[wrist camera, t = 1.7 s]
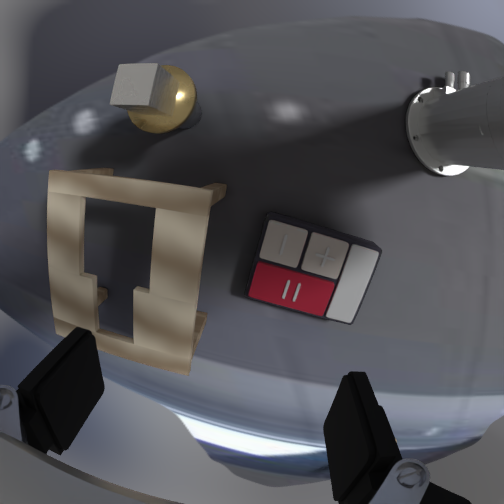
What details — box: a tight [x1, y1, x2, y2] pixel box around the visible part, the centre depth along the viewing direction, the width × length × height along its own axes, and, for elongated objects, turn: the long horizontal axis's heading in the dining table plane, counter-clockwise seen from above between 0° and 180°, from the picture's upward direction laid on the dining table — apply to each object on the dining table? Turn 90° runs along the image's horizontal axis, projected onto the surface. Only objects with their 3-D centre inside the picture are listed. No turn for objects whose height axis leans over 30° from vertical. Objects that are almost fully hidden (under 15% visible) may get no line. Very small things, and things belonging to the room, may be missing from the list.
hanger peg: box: [110, 63, 202, 134], centre depth 27 cm, size 7×7×16 cm
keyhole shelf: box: [47, 168, 227, 376], centre depth 34 cm, size 20×18×12 cm
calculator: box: [244, 212, 382, 325], centre depth 38 cm, size 11×4×15 cm
